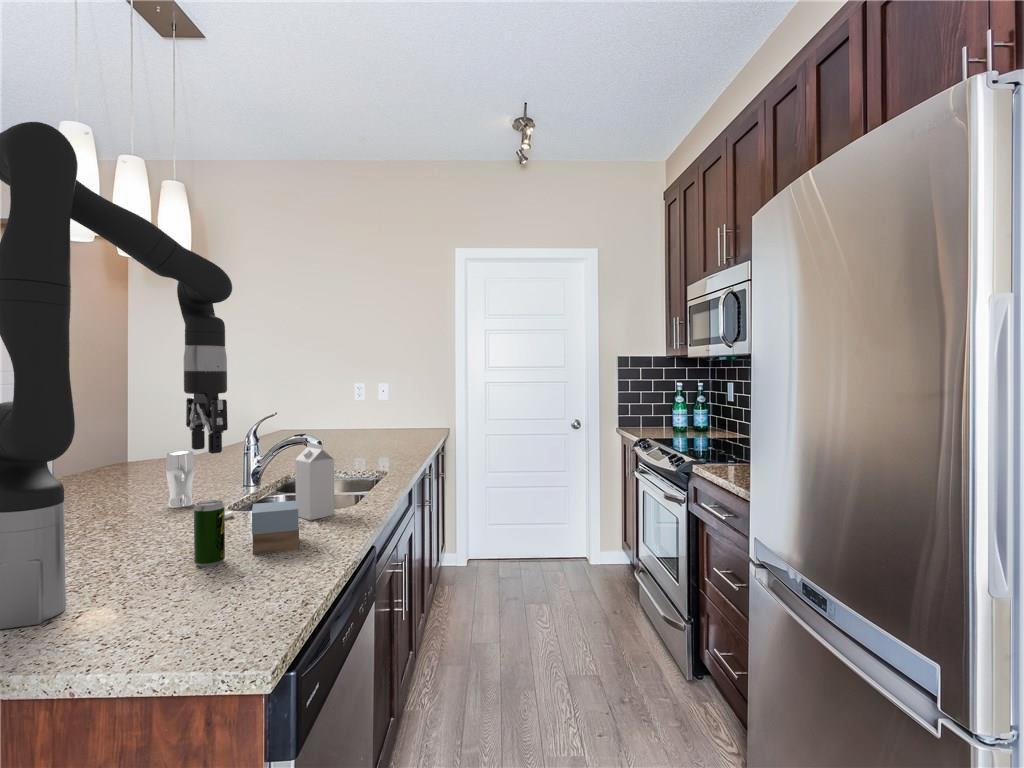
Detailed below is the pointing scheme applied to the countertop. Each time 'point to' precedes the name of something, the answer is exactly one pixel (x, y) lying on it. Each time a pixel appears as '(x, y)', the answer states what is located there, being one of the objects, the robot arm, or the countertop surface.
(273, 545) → the walnut block
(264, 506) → the slate-blue block
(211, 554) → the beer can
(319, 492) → the milk carton
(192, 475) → the beer glass
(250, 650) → the countertop surface
